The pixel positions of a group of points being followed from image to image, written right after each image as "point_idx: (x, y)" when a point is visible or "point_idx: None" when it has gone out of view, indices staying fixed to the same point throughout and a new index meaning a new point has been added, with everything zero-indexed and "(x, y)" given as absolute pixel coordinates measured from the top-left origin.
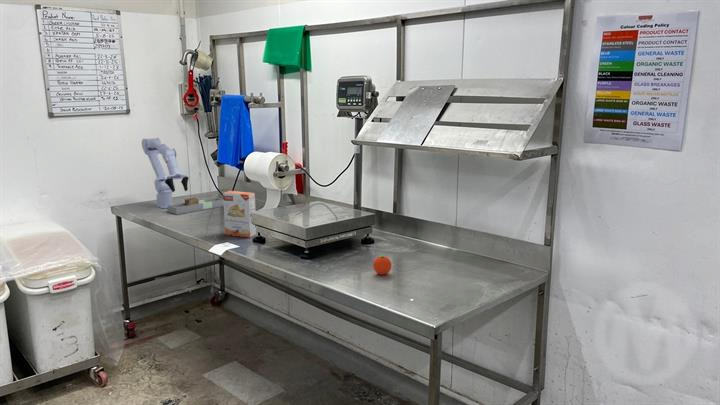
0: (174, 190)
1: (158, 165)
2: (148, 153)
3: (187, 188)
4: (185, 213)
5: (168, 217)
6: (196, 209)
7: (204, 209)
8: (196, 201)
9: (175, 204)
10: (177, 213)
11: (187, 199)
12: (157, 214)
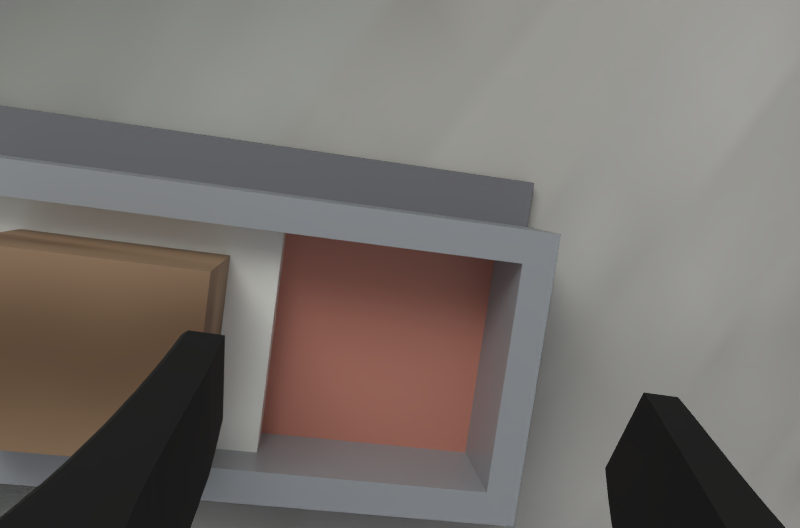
0: (667, 397)
1: None
2: None
3: (171, 350)
4: (398, 163)
5: (702, 180)
6: (145, 173)
7: (7, 115)
8: (36, 243)
9: (369, 498)
10: (511, 224)
11: None
12: None
